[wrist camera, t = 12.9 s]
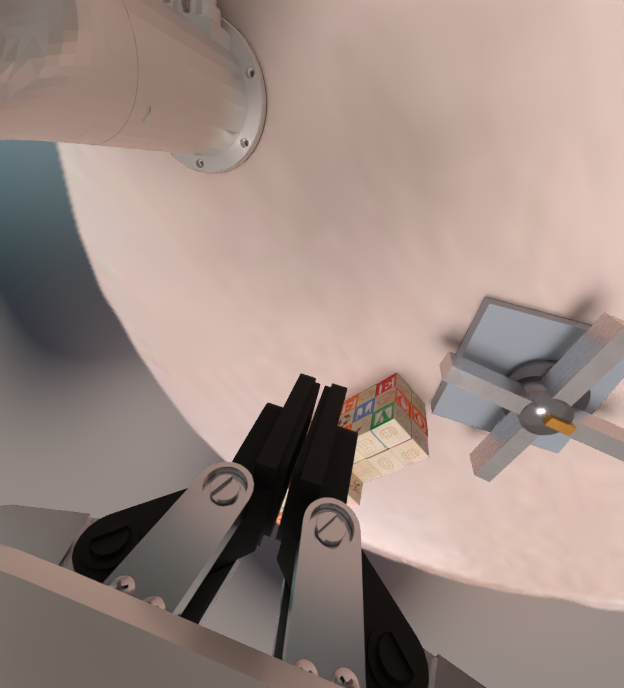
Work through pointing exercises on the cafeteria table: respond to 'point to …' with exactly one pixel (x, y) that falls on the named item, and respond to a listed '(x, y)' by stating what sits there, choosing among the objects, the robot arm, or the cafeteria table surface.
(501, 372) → the stand
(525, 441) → the capstan
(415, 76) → the cafeteria table surface
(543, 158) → the cafeteria table surface
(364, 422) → the stack of blocks
